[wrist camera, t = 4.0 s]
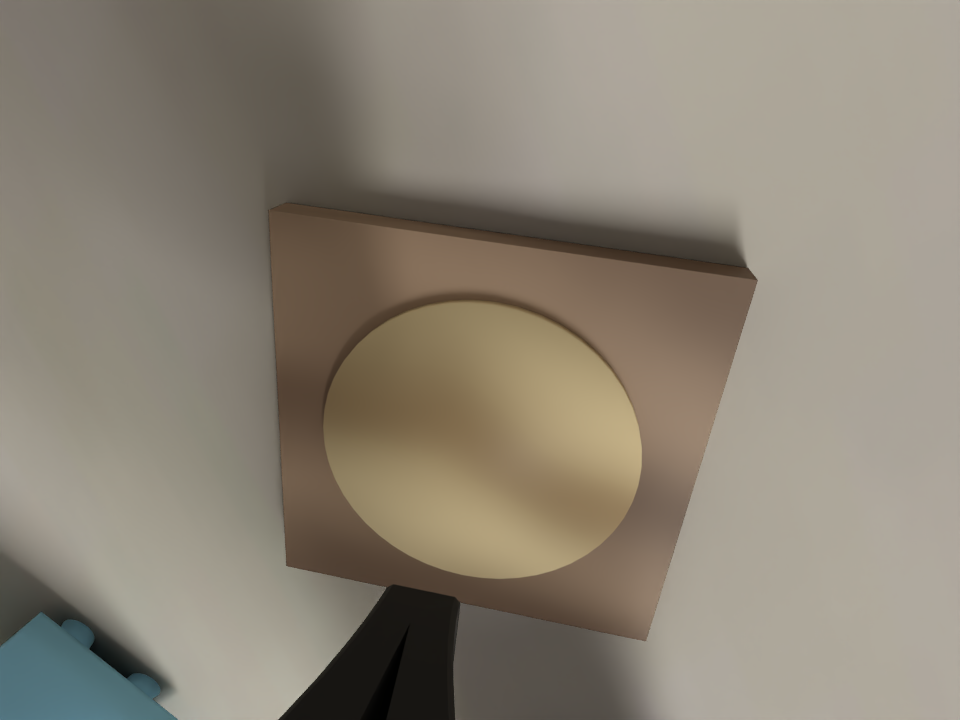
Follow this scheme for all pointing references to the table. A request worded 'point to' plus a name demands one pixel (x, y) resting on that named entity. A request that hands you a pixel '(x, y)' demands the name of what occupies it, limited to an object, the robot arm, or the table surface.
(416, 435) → the socket base
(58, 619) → the table surface
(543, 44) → the table surface
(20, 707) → the light blue block
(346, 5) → the table surface
